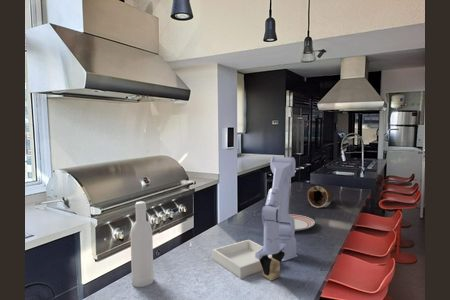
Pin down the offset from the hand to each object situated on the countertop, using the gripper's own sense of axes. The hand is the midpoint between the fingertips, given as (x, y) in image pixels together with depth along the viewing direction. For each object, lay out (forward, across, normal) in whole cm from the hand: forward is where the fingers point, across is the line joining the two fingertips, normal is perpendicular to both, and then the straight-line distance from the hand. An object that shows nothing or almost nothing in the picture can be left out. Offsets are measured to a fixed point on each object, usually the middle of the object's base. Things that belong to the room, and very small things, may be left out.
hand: (271, 272), depth 114 cm
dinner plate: (+3, -52, -35) cm, 63 cm away
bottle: (+2, +40, -27) cm, 48 cm away
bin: (+2, -1, -16) cm, 16 cm away
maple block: (+2, 0, 0) cm, 2 cm away
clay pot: (+3, -107, -52) cm, 119 cm away
